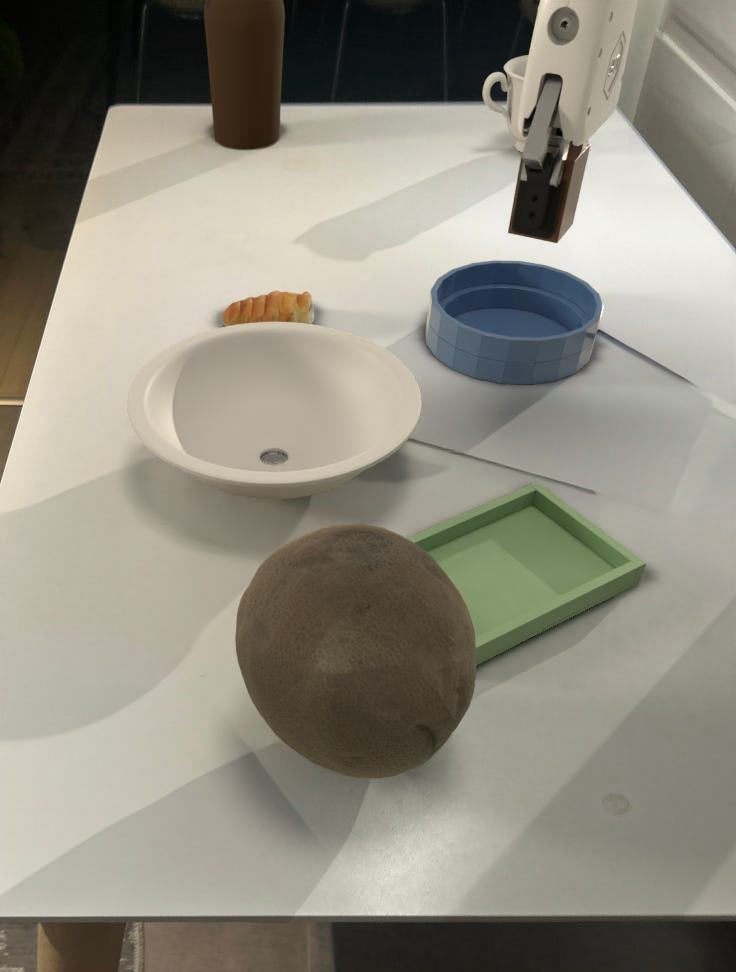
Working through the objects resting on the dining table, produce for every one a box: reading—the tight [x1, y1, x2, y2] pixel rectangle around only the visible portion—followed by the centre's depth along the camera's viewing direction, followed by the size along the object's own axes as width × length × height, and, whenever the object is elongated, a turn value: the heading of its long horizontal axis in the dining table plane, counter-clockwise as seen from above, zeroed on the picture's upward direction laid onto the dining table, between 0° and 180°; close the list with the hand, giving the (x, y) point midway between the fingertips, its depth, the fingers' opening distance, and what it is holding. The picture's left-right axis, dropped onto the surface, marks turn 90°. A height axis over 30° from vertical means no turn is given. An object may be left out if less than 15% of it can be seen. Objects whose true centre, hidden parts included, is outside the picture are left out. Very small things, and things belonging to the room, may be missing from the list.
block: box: [507, 141, 591, 244], centre depth 73 cm, size 4×4×6 cm
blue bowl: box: [424, 259, 605, 385], centre depth 94 cm, size 16×16×5 cm
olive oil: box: [203, 0, 286, 150], centre depth 127 cm, size 11×11×25 cm
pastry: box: [221, 290, 315, 327], centre depth 97 cm, size 9×7×4 cm
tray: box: [405, 481, 647, 666], centre depth 71 cm, size 18×12×2 cm, turn 121°
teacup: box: [482, 54, 529, 153], centre depth 128 cm, size 12×15×10 cm
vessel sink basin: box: [126, 322, 423, 500], centre depth 80 cm, size 24×24×7 cm
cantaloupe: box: [234, 523, 477, 780], centre depth 56 cm, size 14×14×15 cm
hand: (542, 220), depth 75 cm, fingers closed on block, 4 cm apart
